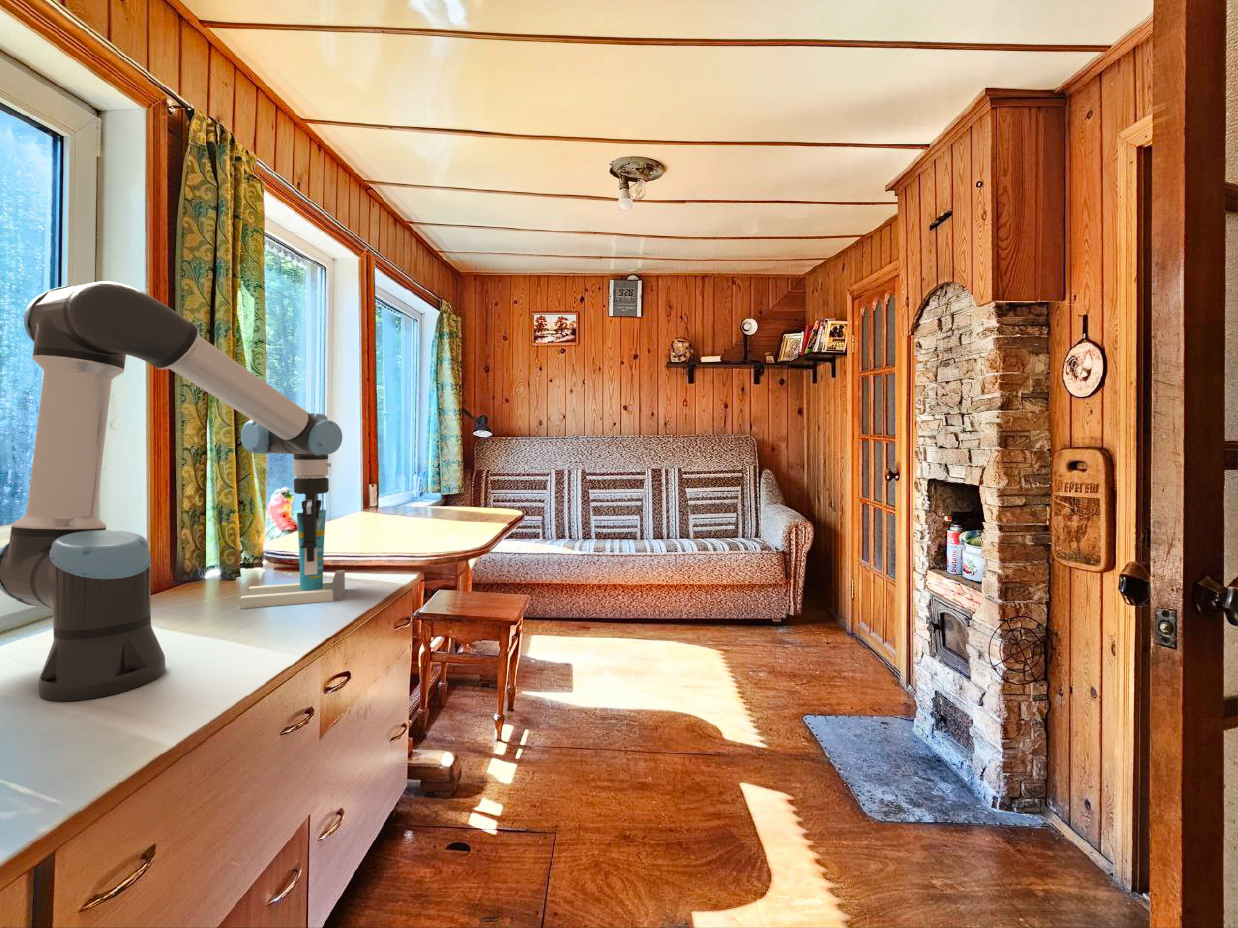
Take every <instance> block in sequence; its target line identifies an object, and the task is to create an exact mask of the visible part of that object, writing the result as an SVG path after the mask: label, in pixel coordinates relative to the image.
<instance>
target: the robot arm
mask: <svg viewBox="0 0 1238 928" xmlns="http://www.w3.org/2000/svg"><path fill="white" fill-rule="evenodd" d="M23 325H24V330H25V332H26V334H27V336H28V338H30V340H31V341H32V342H33V349H32V350H33V352H32V360H33V361H34V362H36V364H37V365H38V366H39V367H40V368H41V369H43V370H42V371H43V376H42V377H43V378H42V385H41V394H40V400H39V410H38V418H37V426H36V434H35V441H34V442H35V443H34V449H33V450H34V451H33V456H32V457H33V458H32V467H31V474H30V482H29V491H28V498H27V504H26V505H27V506H26V513H25V515H23V516H22V517H20V518H19V519H17V520H16V521H14V522H13V523H11V526H10V527H11V529H10V534H9V541H8V543H6V544H5V545H4V546H2V547H1V548H0V591H1V592H3V593H4V594H5V595H6V596H8V597H9V598H11V599H14V600H15V601H17V602H18V603H21V604H24V605H28V606H33V607H41V608H47V609H51V610H52V621H53V622H52V623H53V624H52V626H53V642H52V645H51V647H50V651H49V653H48V655H47V658H46V660H45V663H44V664H43V669H42V671H41V674H40V675H39V678H38V696H39V697H40V698H42V699H44V700H47V701H56V702H57V701H58V702H69V701H70V702H71V701H80V700H81V701H82V700H83V701H84V700H88V699H89V700H90V699H96V698H101V697H106V696H111V695H114V694H119V693H123V692H126V691H129V690H133V689H135V688H139V687H142V686H144V685H147V684H148V683H150V682H152V681H155V680H156V679H158V678H159V677H160V676H161V677H162V675H163V674H164V673H165V672H166V657H165V653H164V651H163V650H162V647H161V644H160V643H159V641H158V638H157V636H156V634H155V632H154V629H153V626H152V608H151V606H152V603H151V601H152V599H151V598H152V597H151V594H152V593H151V592H152V591H151V563H152V557H151V556H152V555H151V553H150V545H149V542H148V540H147V539H146V537H144V536H142V535H141V534H139V533H134V532H131V531H126V530H125V531H123V530H118V531H116V530H115V531H114V530H107V524H106V523H104V522H103V520H101V519H100V518H99V517H98V516H97V515H98V514H97V508H98V499H99V492H100V486H101V485H100V484H101V473H102V466H103V458H104V457H103V456H104V451H105V450H104V449H105V440H106V433H107V432H106V431H107V423H108V417H109V416H108V415H109V406H110V397H111V389H112V382H113V380H114V379H115V378H117V377H118V376H120V375H122V374H124V372H125V364H126V359H127V356H130V357H133V358H137V359H139V360H141V361H144V362H146V363H148V364H150V365H151V366H153V367H154V368H156V369H158V370H168V369H169V370H171V371H172V372H174V373H176V374H177V375H179V376H181V377H182V378H183V379H185V380H187V381H188V382H190V383H192V384H193V385H195V386H196V387H198V388H200V389H201V390H203V391H205V392H206V393H207V394H209V395H211V396H212V397H214V398H216V399H217V400H220V401H221V402H222V403H224V404H225V405H227V406H229V407H230V408H232V409H233V410H235V411H237V412H239V413H240V414H241V415H243V416H244V417H246V418H248V419H249V420H247V421H246V422H245V423H244V424H243V426H242V428H241V431H240V442H241V444H242V447H243V448H244V449H245V450H246V452H249V453H251V454H260V455H265V454H284V455H285V454H286V455H293V463H292V464H293V466H292V467H293V469H292V470H293V476H294V477H295V478H294V479H293V492H294V493H295V494H296V495H297V494H298V495H304V500H302V501H301V508H302V513H303V546H301V548H304V575H314V574H317V547H316V546H317V544H316V529H317V519H319V510H321V507H322V500H321V499H319V495H320V494H326V493H328V492H329V491H330V490H329V489H330V488H329V487H330V484H329V482H330V481H329V478H328V477H326V476H328V475H329V468H330V467H332V464H331V462H329V455H332V454H334V453H335V452H337V451H338V450H339V448H340V447H341V446H342V442H343V432H342V429H341V427H340V426H339V424H337V423H336V422H335V421H333V420H328V419H329V418H328V416H327V415H326V414H323V413H316V412H315V413H311V412H310V413H309V412H307V411H306V410H305V409H304V408H302V407H301V406H299V405H298V404H296V403H295V402H294V401H292V400H291V399H290V398H288V397H286V396H285V395H284V394H283V393H281V392H280V391H278V390H276V389H275V388H274V387H272V386H271V385H269V384H268V383H267V382H265V381H264V380H262V379H261V378H260V377H259V376H257V375H255V374H254V373H252V372H251V371H250V370H248V369H247V368H246V367H244V366H243V365H241V364H240V363H238V362H237V361H236V360H235V359H233V358H232V357H230V356H228V355H227V354H226V353H224V352H223V351H222V350H220V349H219V348H217V347H216V346H214V345H213V344H212V343H210V342H209V341H208V340H206V339H204V338H203V337H202V336H201V335H200V329H199V327H198V326H197V325H195V324H194V323H192V322H191V321H189V320H188V319H187V318H185V317H184V316H183V315H181V314H180V313H178V312H176V310H173V309H172V308H171V307H169V306H168V305H166V304H164V303H163V302H161V301H159V300H158V299H156V298H155V297H153V296H151V295H149V294H147V293H146V292H143V291H141V290H140V289H137V288H134V287H132V286H129V285H126V284H123V283H120V282H119V283H118V282H114V281H97V282H91V283H90V282H89V283H86V284H82V285H76V286H75V285H74V286H73V285H71V286H67V285H66V286H60V287H55V288H53V289H52V288H51V289H49V290H47V291H45V292H43V293H40V294H39V295H36V297H35V298H34V299H32V300H30V302H29V304H28V305H27V307H26V309H25V311H24V316H23Z"/></svg>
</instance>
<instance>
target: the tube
mask: <svg viewBox="0 0 1238 928" xmlns="http://www.w3.org/2000/svg"><path fill="white" fill-rule="evenodd" d="M326 513H327V510H326V509H320V510H319V519H317V529H316V544H317V546H316V547H317V574H314V575H304V548H301V546H303V512H297V513H296V522H297V532H298V533H297V537H298V556H299V557H298V558H299V559H298V560H299V562H298V563H299V583H300V590H302V591H315V590H319V589H322V588H323V581H324V556H325V555H324V553H325V552H324V550H325V549H324V548H325V533H326V531H325V529H326V517H327V516H326V515H327V514H326Z"/></svg>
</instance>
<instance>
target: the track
mask: <svg viewBox="0 0 1238 928" xmlns="http://www.w3.org/2000/svg"><path fill="white" fill-rule="evenodd" d="M345 571H346V570H345V569H339V570H335V573H334V574H333V575H334V576H333V578H332V580H327V581H324V580H323V588H322V589H319V590H315V591H302V590H300V582H297V583H284V584H283V583H282V584H281V583H280V584H269V585H267V584H266V585H256V586H255V585H254V586H249V587H248V594H247V595H241V596H240V598H239V607H240V608H239V609H240V610H241V609H251V608H252V609H253V608H263V607H264V608H265V607H274V606H275V607H278V606H287V605H298V604H299V605H301V604H313V603H314V604H315V603H323V602H327V603H328V602H337V601H343V598H344V593H345V591H346V590H345V589H346V583H345V581H346V580H345V579H346V576H345V575H346V574H345V573H346V572H345Z"/></svg>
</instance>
